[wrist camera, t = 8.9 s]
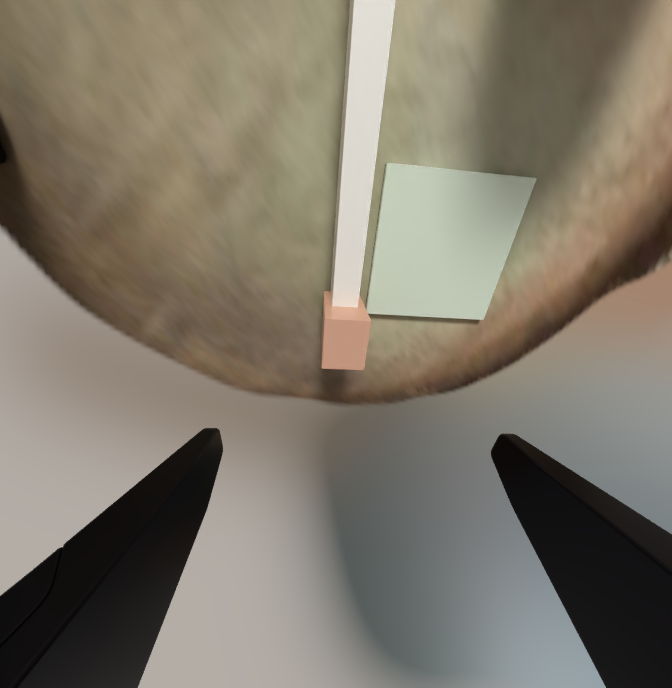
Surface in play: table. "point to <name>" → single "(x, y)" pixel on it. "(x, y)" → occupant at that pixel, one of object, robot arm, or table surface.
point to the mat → (443, 240)
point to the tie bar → (356, 182)
